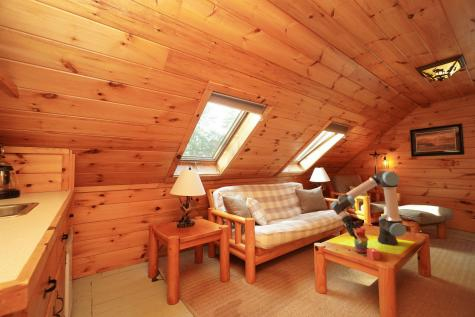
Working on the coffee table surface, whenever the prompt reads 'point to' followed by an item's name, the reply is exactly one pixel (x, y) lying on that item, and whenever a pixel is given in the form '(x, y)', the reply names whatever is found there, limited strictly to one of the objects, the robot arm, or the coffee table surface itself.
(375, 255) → the red die
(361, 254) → the game track
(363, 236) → the stacking bear
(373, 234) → the coffee table surface
